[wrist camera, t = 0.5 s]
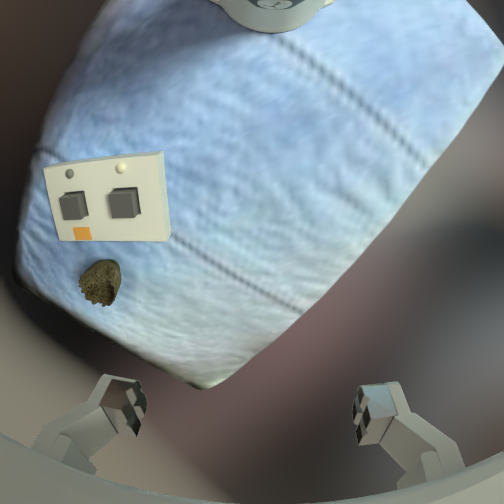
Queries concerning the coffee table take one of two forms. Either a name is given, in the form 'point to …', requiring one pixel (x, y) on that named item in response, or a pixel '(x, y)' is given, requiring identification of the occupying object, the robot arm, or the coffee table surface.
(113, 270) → the brown textured goblet
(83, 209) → the block
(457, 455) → the robot arm
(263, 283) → the coffee table surface
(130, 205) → the block
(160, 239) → the panel
